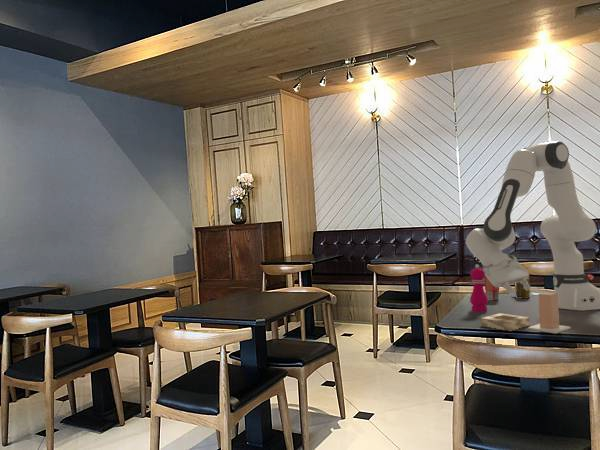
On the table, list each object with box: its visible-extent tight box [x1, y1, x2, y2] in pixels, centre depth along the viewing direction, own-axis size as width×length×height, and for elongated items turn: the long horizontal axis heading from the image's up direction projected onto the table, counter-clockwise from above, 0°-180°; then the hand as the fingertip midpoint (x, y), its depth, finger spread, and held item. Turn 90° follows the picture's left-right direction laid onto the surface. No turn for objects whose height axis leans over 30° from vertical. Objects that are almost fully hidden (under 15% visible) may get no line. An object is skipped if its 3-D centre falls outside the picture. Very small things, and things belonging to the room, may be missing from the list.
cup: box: [483, 275, 500, 301], centre depth 237 cm, size 9×8×12 cm
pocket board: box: [480, 312, 531, 332], centre depth 184 cm, size 12×12×3 cm
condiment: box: [515, 277, 531, 298], centre depth 238 cm, size 7×8×12 cm
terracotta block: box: [538, 291, 560, 329], centre depth 176 cm, size 4×4×12 cm
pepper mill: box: [469, 263, 489, 313], centre depth 213 cm, size 7×7×20 cm
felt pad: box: [527, 323, 572, 334], centre depth 176 cm, size 10×10×1 cm
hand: (521, 291), depth 184 cm, fingers open, 8 cm apart
